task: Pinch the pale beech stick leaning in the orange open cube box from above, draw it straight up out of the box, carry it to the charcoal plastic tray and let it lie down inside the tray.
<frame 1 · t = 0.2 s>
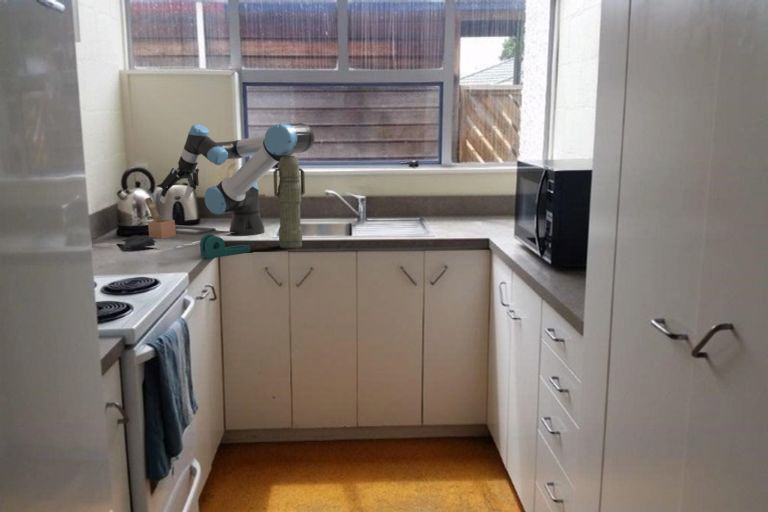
hand: (174, 200, 303), 15 cm above the worktop, tool tilted 30°, fingers open, 13 cm apart
bracket: (227, 255, 258), on the worktop
beech stick: (165, 236, 290), point 1 cm above the worktop, touching orange open cube box
orange open cube box: (163, 239, 291), on the worktop
dark slate chunk: (139, 247, 278), on the worktop
charcoal tray: (184, 234, 304), on the worktop
thermos: (291, 246, 270), on the worktop, touching arm
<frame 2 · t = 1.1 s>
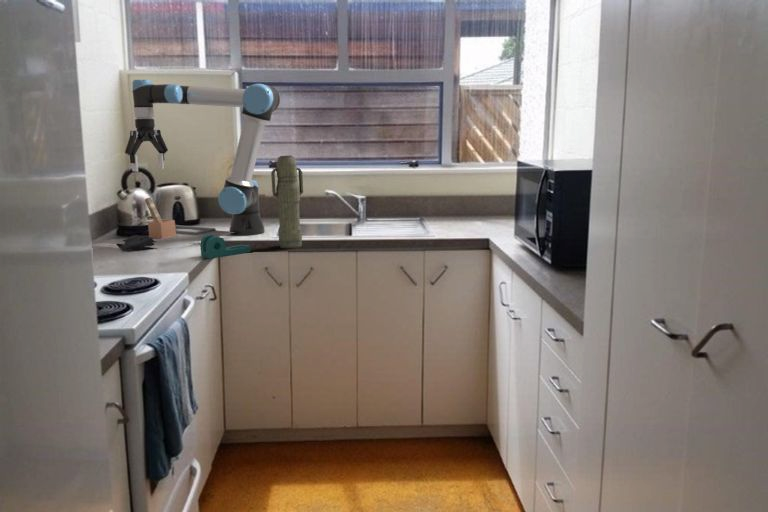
hand: (148, 170, 288), 29 cm above the worktop, tool pointing down, fingers open, 13 cm apart
thermos: (291, 246, 270), on the worktop
everything else where it was.
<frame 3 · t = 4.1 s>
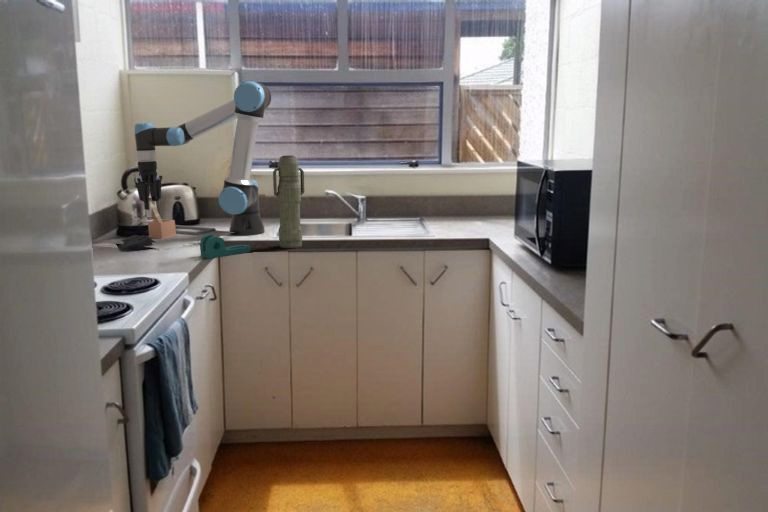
hand: (152, 216, 292), 9 cm above the worktop, tool pointing down, fingers closed on beech stick, 2 cm apart
beech stick: (165, 236, 290), point 1 cm above the worktop, touching gripper, orange open cube box
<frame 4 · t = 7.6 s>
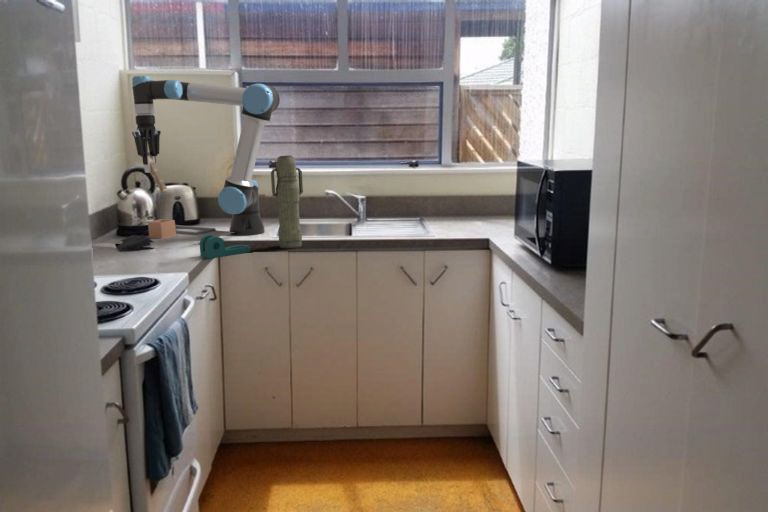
hand: (150, 172, 289), 28 cm above the worktop, tool pointing down, fingers closed on beech stick, 2 cm apart
beech stick: (164, 191, 287), point 20 cm above the worktop, touching gripper
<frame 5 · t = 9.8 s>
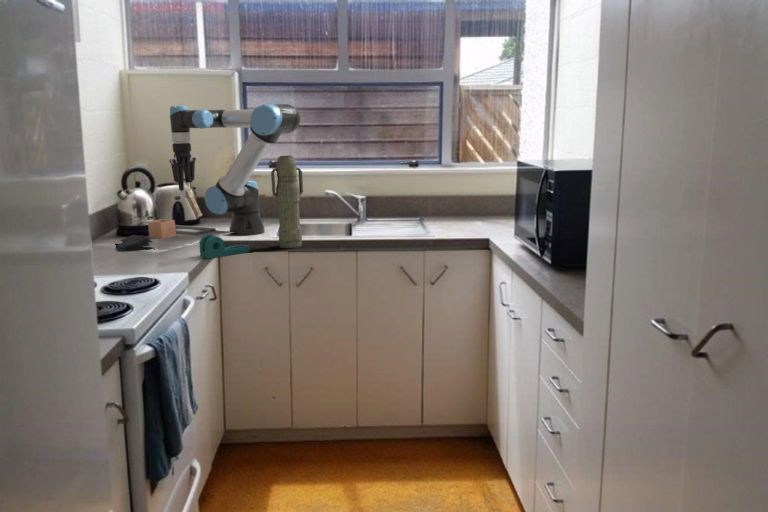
hand: (185, 197, 299), 16 cm above the worktop, tool pointing down, fingers closed on beech stick, 2 cm apart
beech stick: (199, 216, 297), point 8 cm above the worktop, touching gripper
when the fingers open (11 cm above the worktop, at t = 11.5 s): beech stick moves 2 cm and tips over, resting on charcoal tray.
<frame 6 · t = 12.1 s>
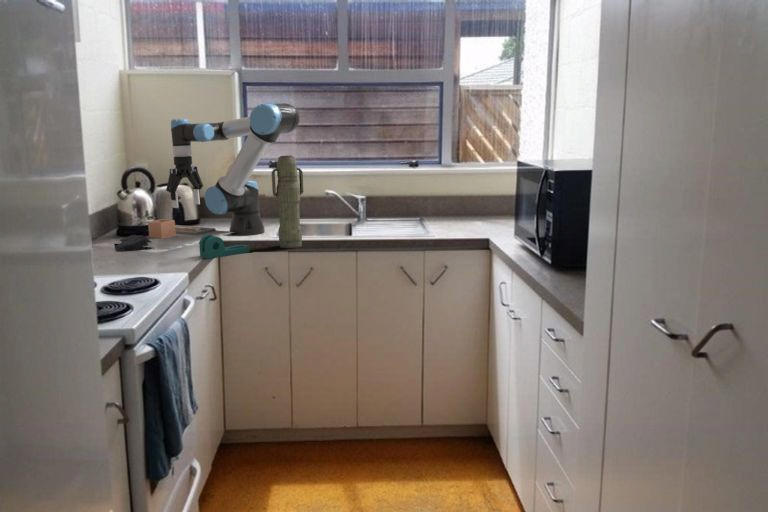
hand: (186, 206, 300), 13 cm above the worktop, tool pointing down, fingers open, 12 cm apart
beech stick: (198, 230, 299), point 2 cm above the worktop, tilted 62°, touching charcoal tray
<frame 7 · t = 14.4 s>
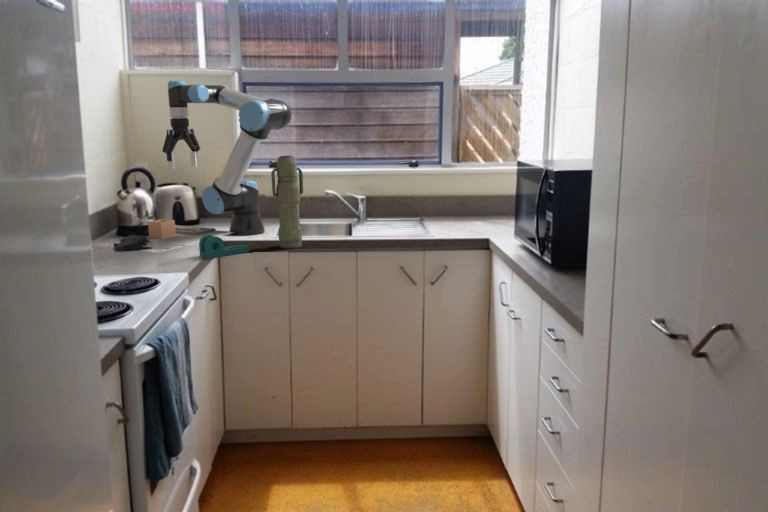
hand: (183, 167, 300), 29 cm above the worktop, tool pointing down, fingers open, 13 cm apart
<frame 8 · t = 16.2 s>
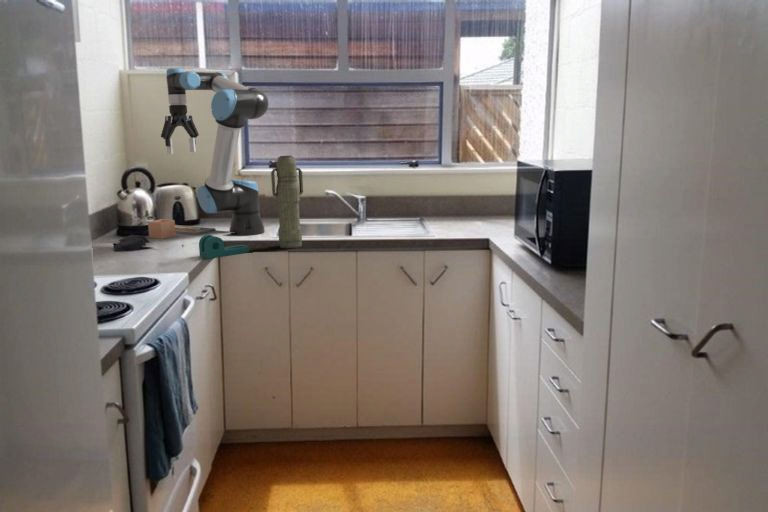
hand: (181, 153, 309), 35 cm above the worktop, tool pointing down, fingers open, 13 cm apart
at the end: beech stick touching charcoal tray; beech stick inside the target area on the charcoal tray (8.7 cm from its centre), point 2.0 cm above the charcoal tray's base; beech stick tilted 62° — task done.
